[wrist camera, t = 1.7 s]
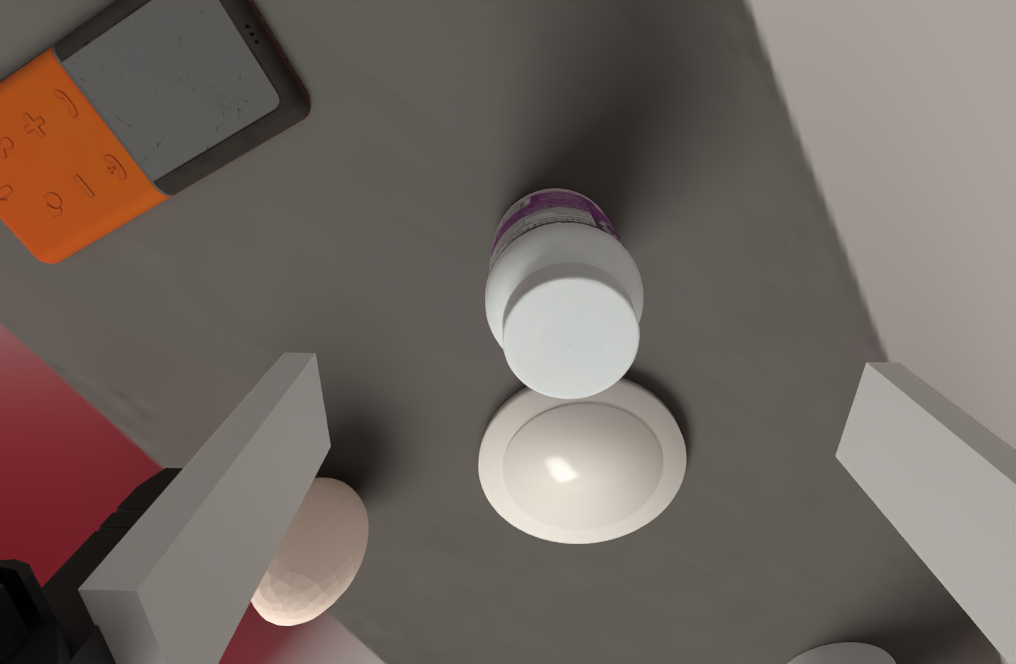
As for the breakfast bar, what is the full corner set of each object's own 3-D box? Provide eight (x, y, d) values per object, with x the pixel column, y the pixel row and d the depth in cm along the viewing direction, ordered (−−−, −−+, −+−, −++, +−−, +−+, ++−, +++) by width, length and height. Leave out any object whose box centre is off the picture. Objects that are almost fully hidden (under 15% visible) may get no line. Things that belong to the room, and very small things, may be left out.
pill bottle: (619, 288, 25) (673, 405, 16) (507, 310, 25) (501, 434, 17) (603, 171, 23) (656, 235, 14) (481, 198, 23) (458, 275, 14)
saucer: (477, 370, 27) (476, 380, 26) (697, 373, 27) (703, 383, 26) (480, 530, 32) (479, 544, 31) (667, 534, 32) (671, 548, 31)
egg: (359, 443, 29) (308, 563, 22) (396, 516, 31) (360, 647, 24) (268, 463, 30) (190, 586, 23) (310, 533, 32) (251, 665, 25)
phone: (-87, 135, 22) (200, -69, 19) (-56, 131, 23) (218, -60, 20) (39, 271, 24) (310, 113, 21) (61, 262, 25) (321, 110, 22)
